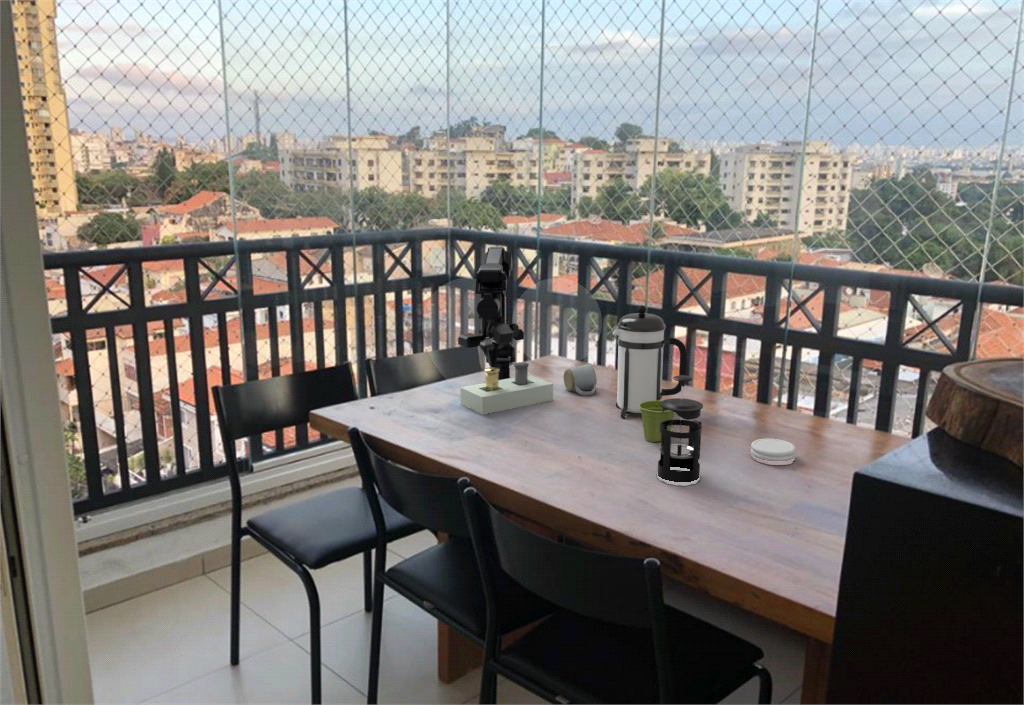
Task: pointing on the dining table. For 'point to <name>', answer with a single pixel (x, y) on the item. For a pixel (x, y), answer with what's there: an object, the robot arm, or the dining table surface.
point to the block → (506, 395)
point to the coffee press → (643, 360)
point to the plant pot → (654, 419)
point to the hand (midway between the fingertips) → (491, 366)
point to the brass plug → (492, 379)
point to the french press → (680, 452)
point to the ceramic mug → (581, 379)
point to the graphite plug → (521, 373)
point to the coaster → (773, 449)
